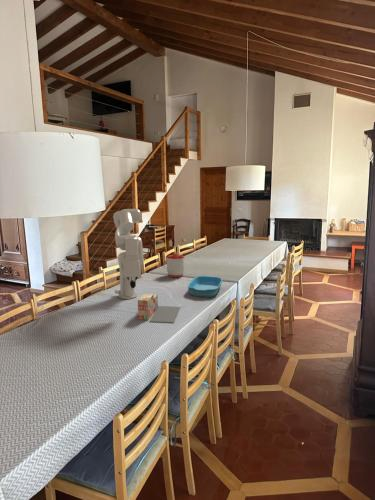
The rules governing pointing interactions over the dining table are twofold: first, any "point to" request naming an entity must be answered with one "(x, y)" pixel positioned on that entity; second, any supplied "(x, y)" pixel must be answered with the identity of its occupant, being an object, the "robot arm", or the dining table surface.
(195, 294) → the casserole dish
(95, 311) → the dining table surface
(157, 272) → the dining table surface
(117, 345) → the dining table surface
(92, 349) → the dining table surface
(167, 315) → the mat
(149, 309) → the stack of blocks
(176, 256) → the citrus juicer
